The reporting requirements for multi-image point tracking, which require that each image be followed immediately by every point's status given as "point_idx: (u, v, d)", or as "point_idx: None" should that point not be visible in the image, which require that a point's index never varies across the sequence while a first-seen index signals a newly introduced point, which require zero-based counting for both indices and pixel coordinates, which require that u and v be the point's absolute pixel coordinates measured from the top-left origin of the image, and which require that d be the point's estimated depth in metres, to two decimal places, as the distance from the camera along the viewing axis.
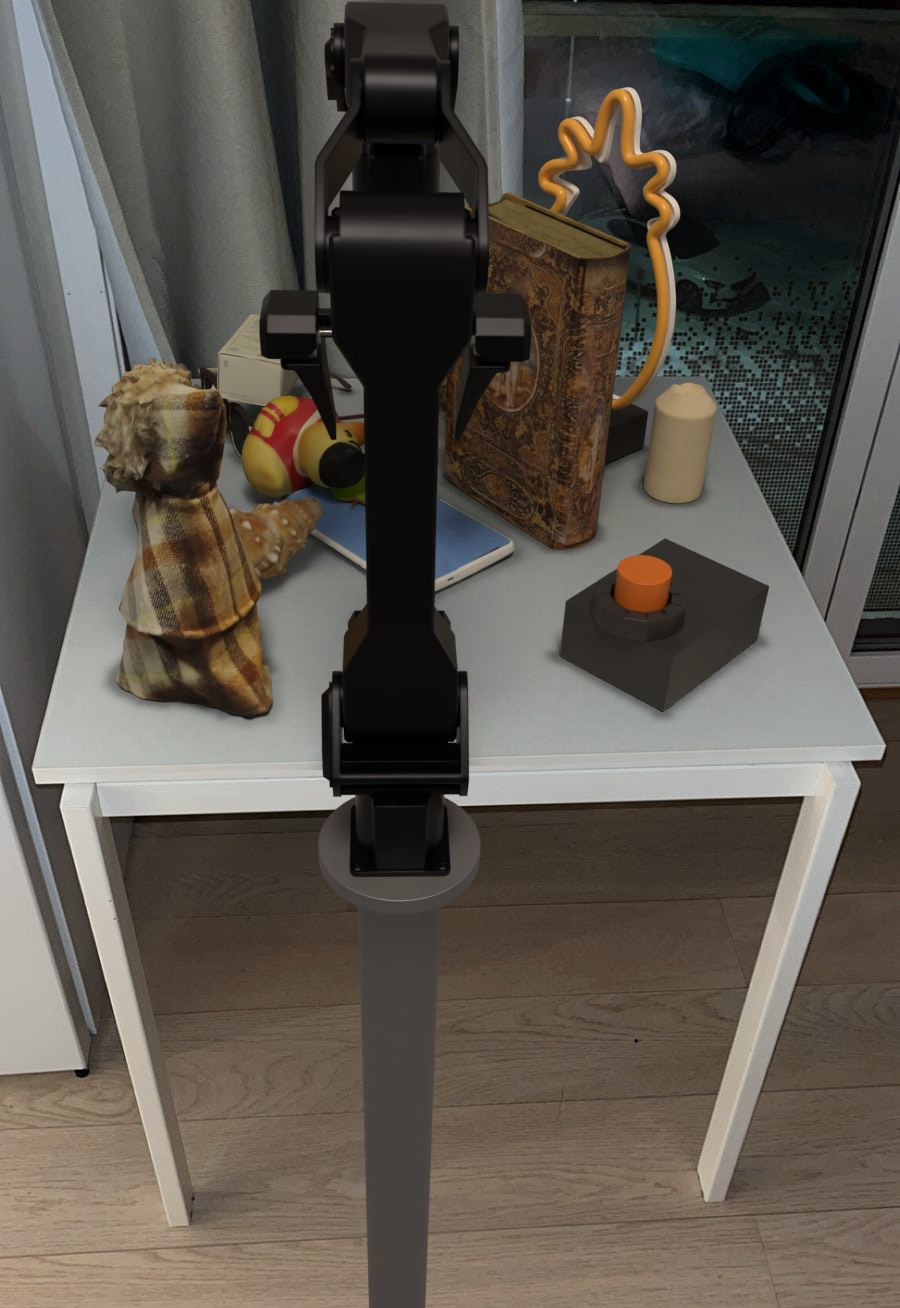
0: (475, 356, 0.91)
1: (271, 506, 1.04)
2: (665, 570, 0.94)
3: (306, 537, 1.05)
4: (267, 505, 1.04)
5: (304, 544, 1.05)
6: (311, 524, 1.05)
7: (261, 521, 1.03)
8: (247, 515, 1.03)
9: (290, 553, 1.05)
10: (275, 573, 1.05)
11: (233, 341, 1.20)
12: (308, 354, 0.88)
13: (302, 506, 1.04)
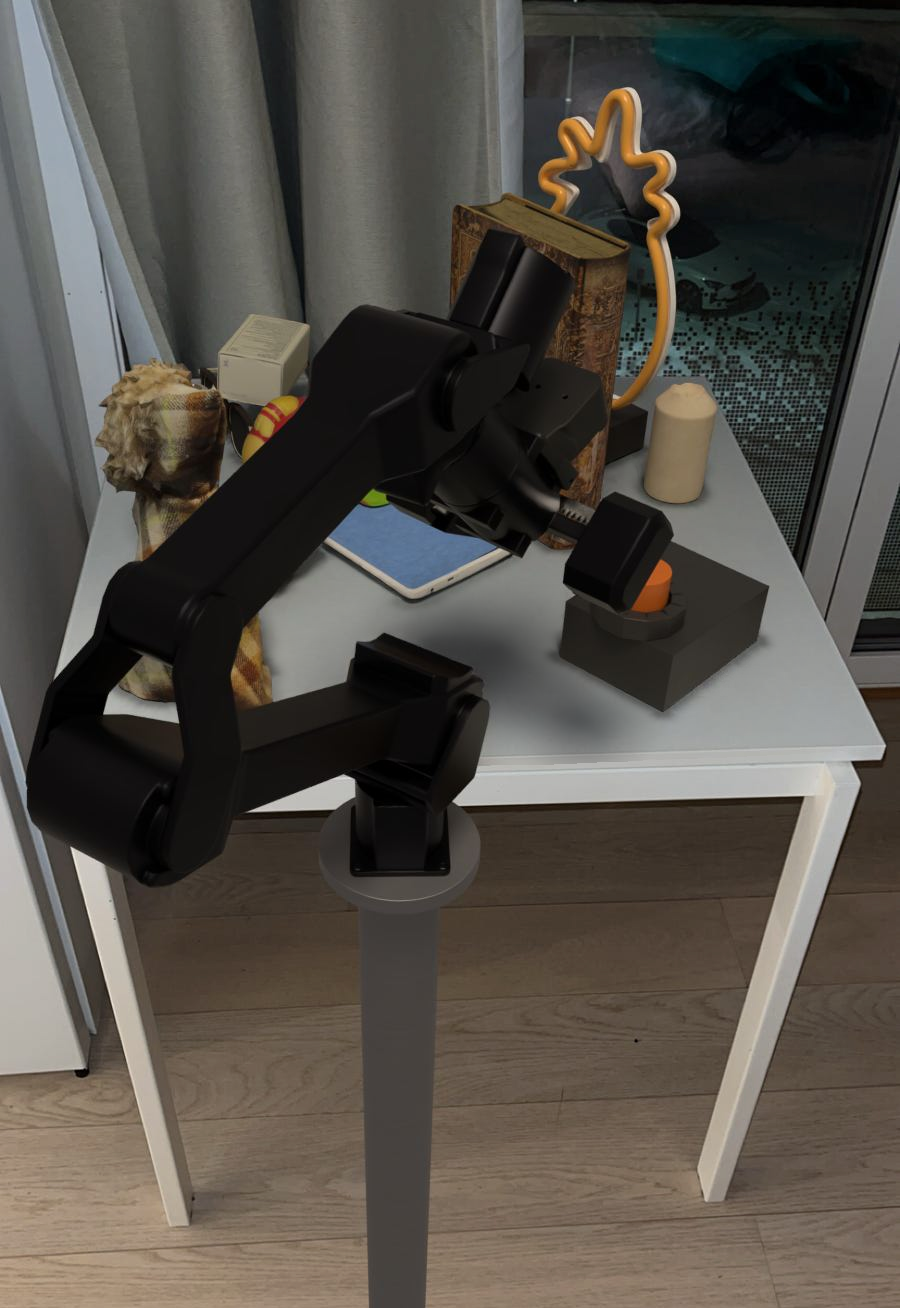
0: None
1: None
2: (665, 570, 0.94)
3: None
4: None
5: None
6: None
7: None
8: None
9: None
10: None
11: (233, 341, 1.20)
12: (428, 524, 0.82)
13: None
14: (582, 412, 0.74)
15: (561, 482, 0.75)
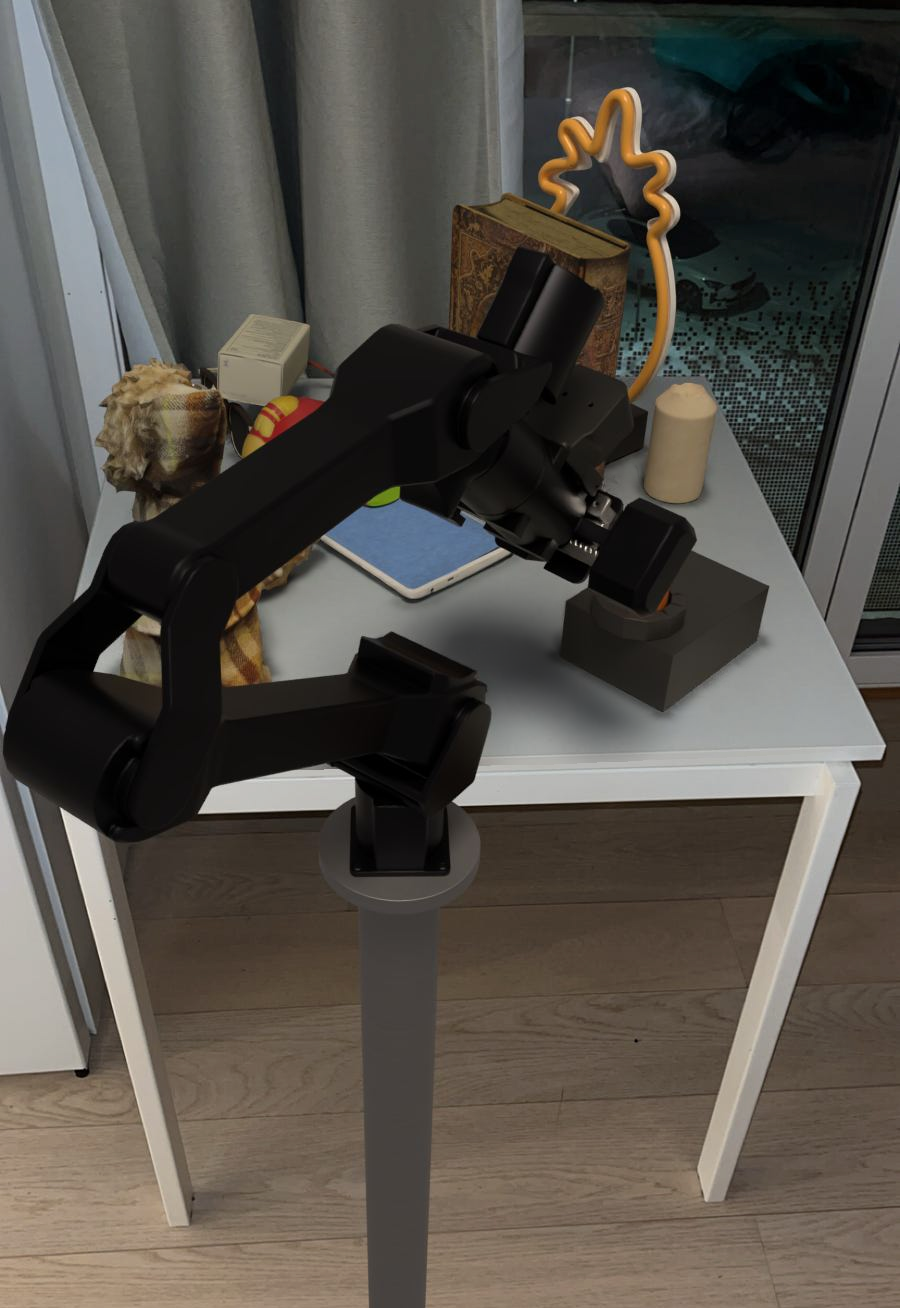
0: None
1: None
2: None
3: (310, 550, 1.06)
4: None
5: (307, 556, 1.06)
6: None
7: None
8: None
9: (293, 565, 1.06)
10: (277, 584, 1.06)
11: (233, 341, 1.20)
12: (458, 526, 0.85)
13: None
14: (607, 420, 0.76)
15: (586, 488, 0.77)
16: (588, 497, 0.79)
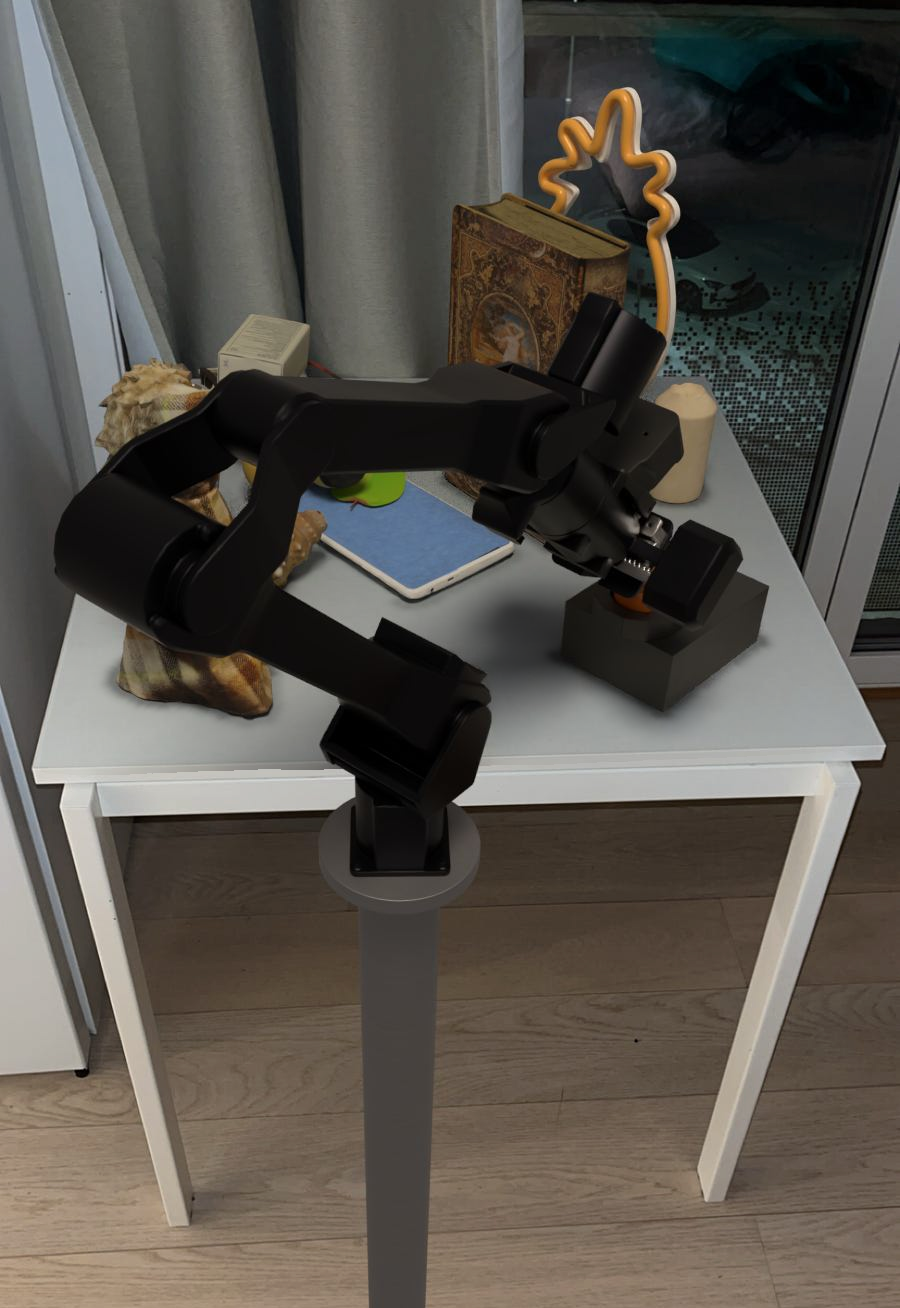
0: (613, 566, 0.88)
1: None
2: None
3: (310, 550, 1.06)
4: None
5: (307, 557, 1.06)
6: (316, 538, 1.06)
7: None
8: None
9: (293, 565, 1.06)
10: (277, 584, 1.06)
11: (233, 341, 1.20)
12: (517, 543, 0.91)
13: (308, 519, 1.05)
14: (661, 448, 0.82)
15: (641, 511, 0.83)
16: (641, 518, 0.85)
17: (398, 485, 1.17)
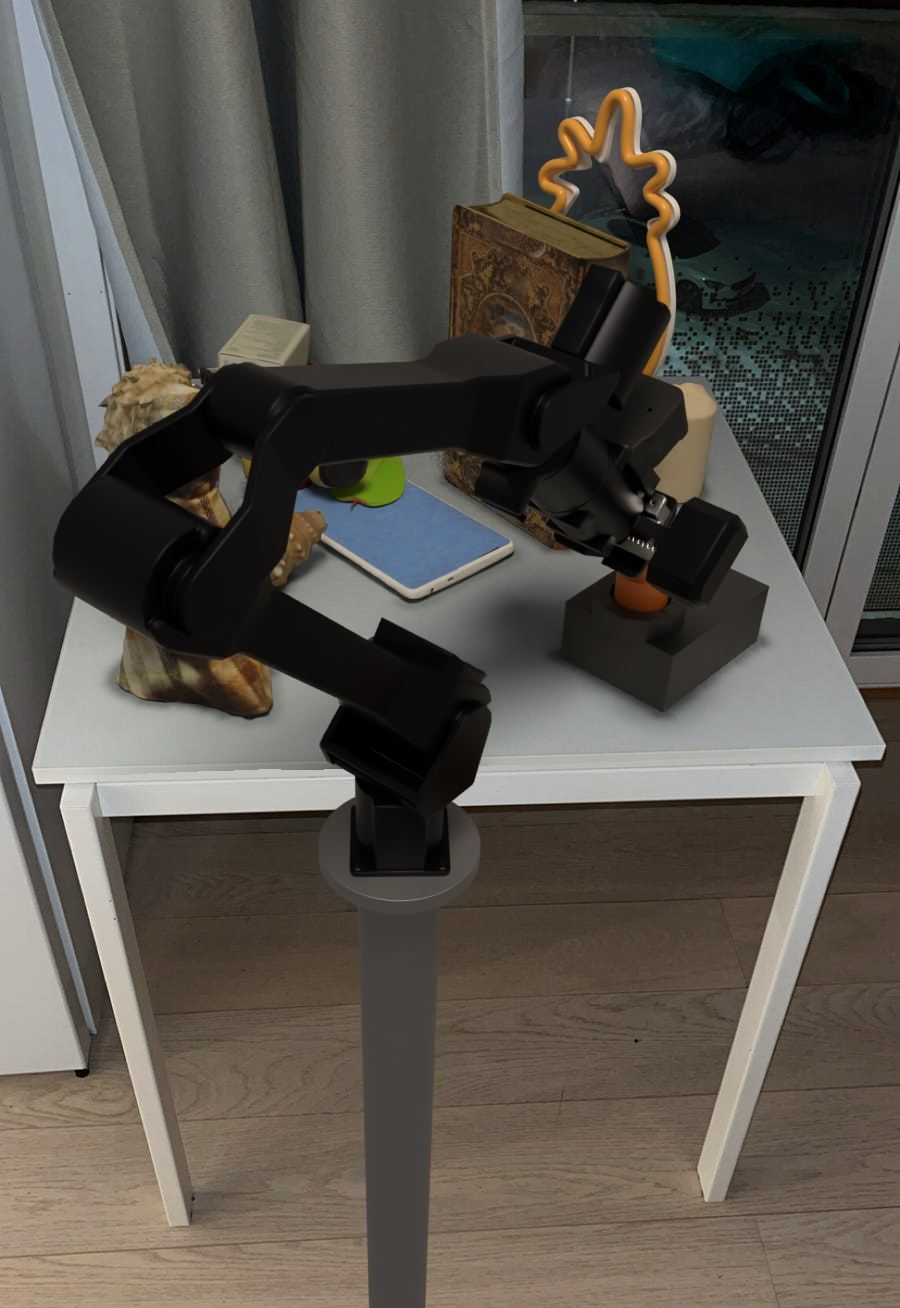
0: (617, 545, 0.87)
1: None
2: None
3: (310, 550, 1.06)
4: None
5: (307, 557, 1.06)
6: (316, 538, 1.06)
7: None
8: None
9: (293, 565, 1.06)
10: (277, 584, 1.06)
11: (233, 341, 1.20)
12: (519, 523, 0.90)
13: (308, 519, 1.05)
14: (665, 424, 0.81)
15: (645, 488, 0.82)
16: (645, 496, 0.84)
17: (398, 485, 1.17)
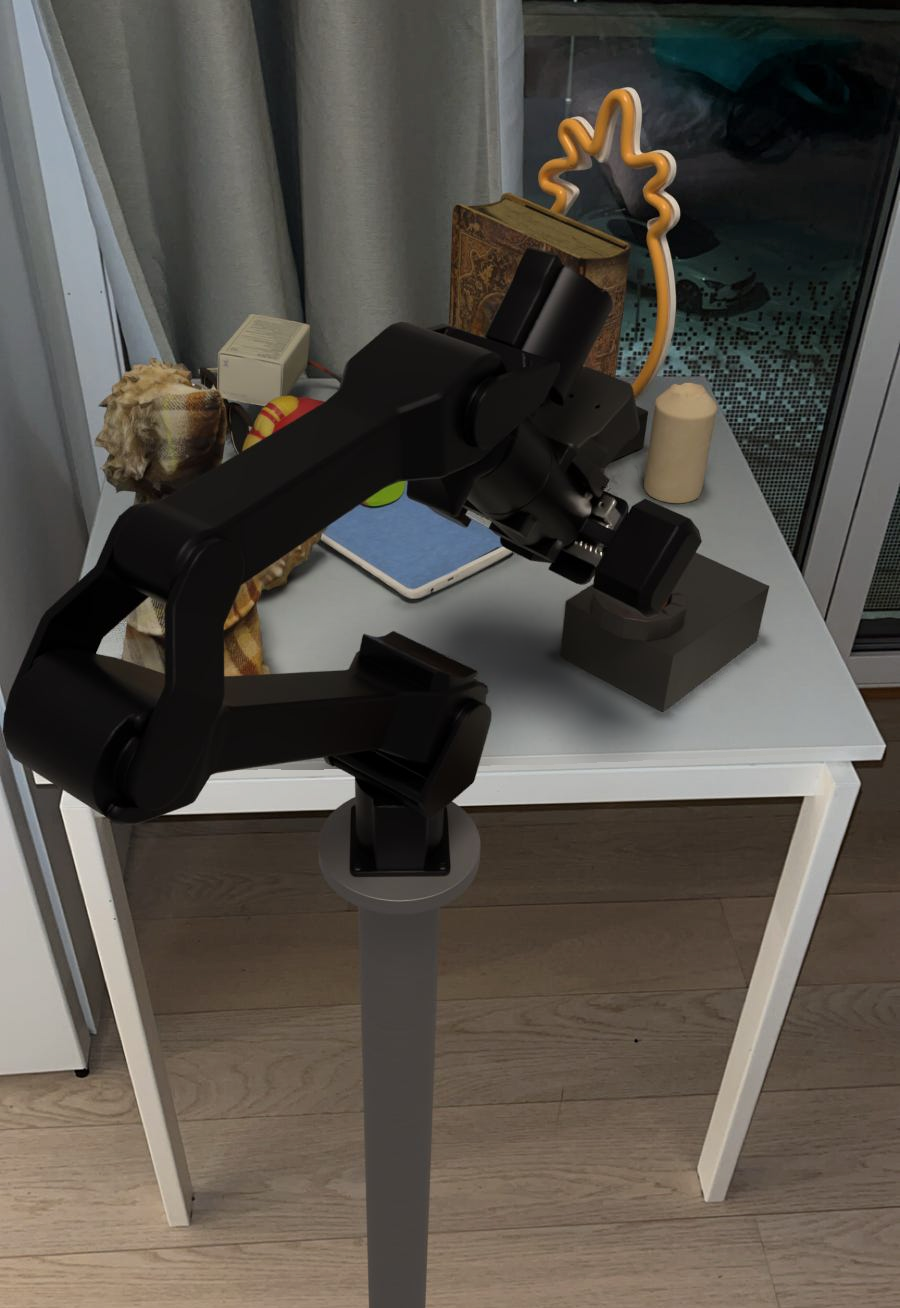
0: (565, 550, 0.82)
1: None
2: None
3: (310, 550, 1.06)
4: None
5: (307, 557, 1.06)
6: (316, 538, 1.06)
7: None
8: None
9: (293, 565, 1.06)
10: (277, 584, 1.06)
11: (233, 341, 1.20)
12: (463, 526, 0.85)
13: None
14: (613, 421, 0.77)
15: (592, 489, 0.78)
16: (594, 498, 0.80)
17: (398, 485, 1.17)
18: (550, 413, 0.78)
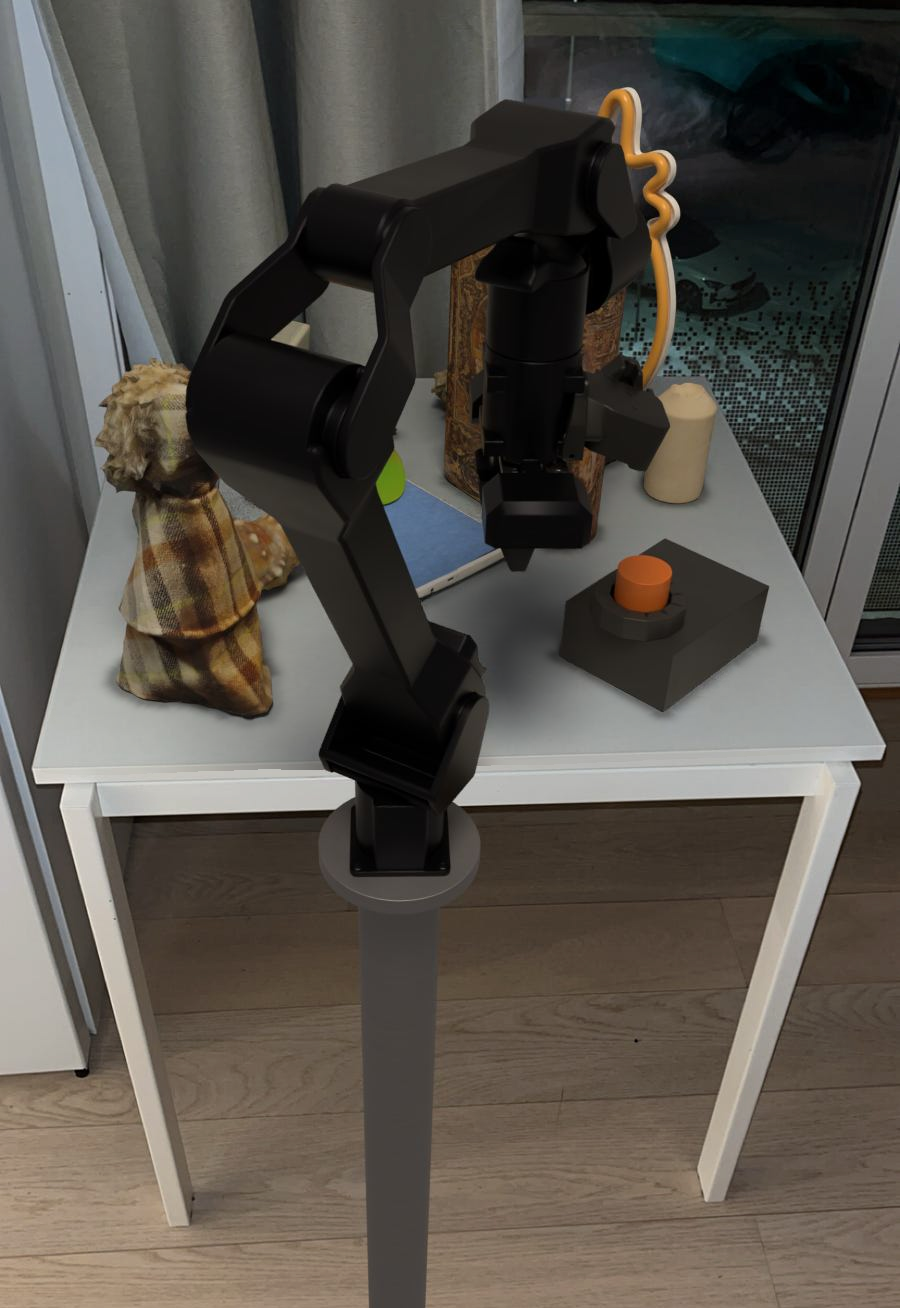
0: None
1: None
2: (665, 570, 0.94)
3: None
4: None
5: None
6: None
7: (267, 534, 1.04)
8: (253, 526, 1.04)
9: (293, 565, 1.06)
10: (277, 584, 1.06)
11: None
12: (470, 420, 0.85)
13: None
14: (630, 422, 0.77)
15: (564, 442, 0.77)
16: (559, 465, 0.79)
17: (398, 485, 1.17)
18: (604, 382, 0.79)
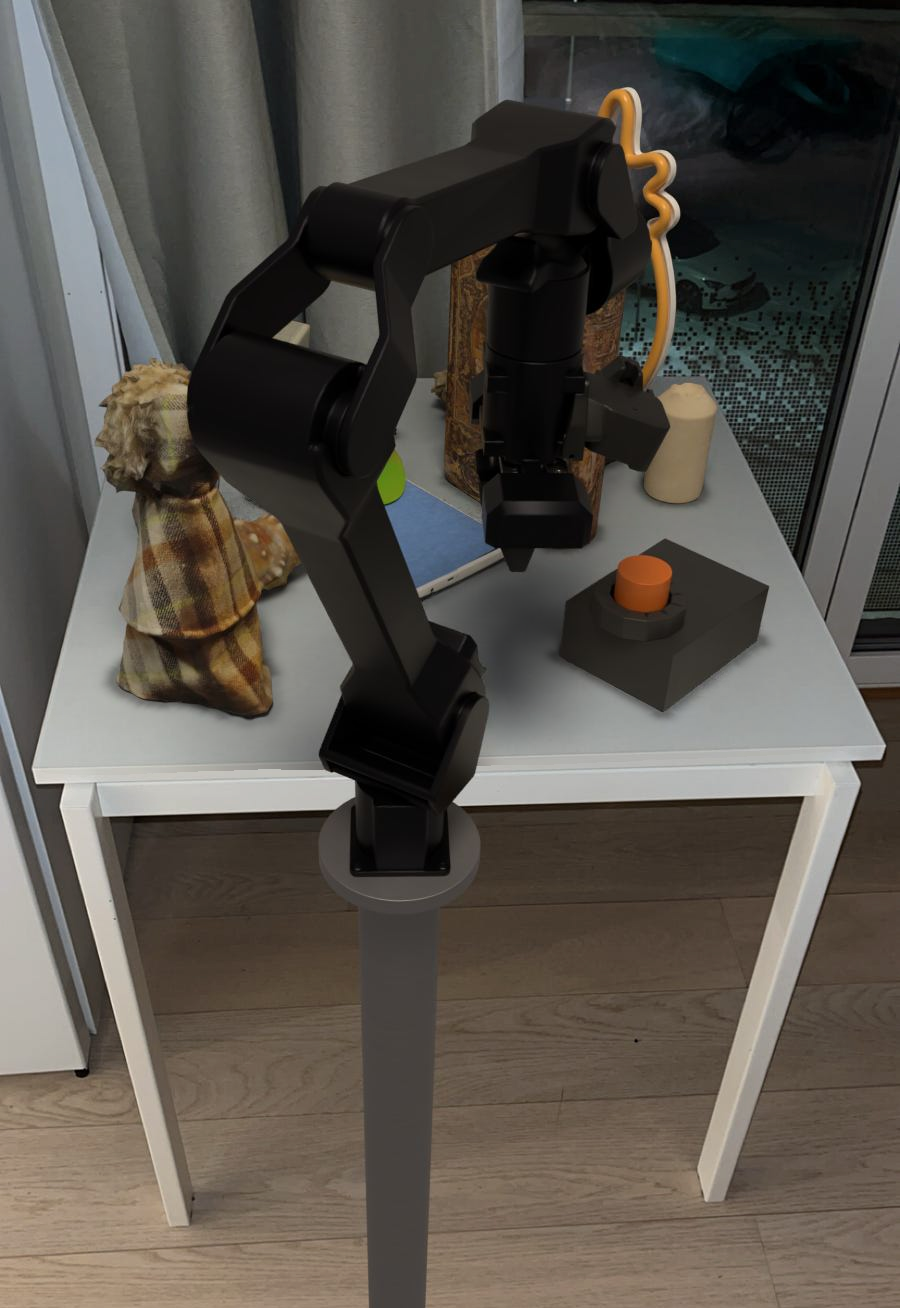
0: None
1: None
2: (665, 570, 0.94)
3: None
4: (274, 517, 1.04)
5: None
6: None
7: (267, 534, 1.04)
8: (253, 526, 1.04)
9: (293, 565, 1.06)
10: (277, 584, 1.06)
11: None
12: (471, 420, 0.85)
13: None
14: (630, 422, 0.77)
15: (564, 442, 0.77)
16: (559, 465, 0.79)
17: (398, 485, 1.17)
18: (604, 382, 0.79)
